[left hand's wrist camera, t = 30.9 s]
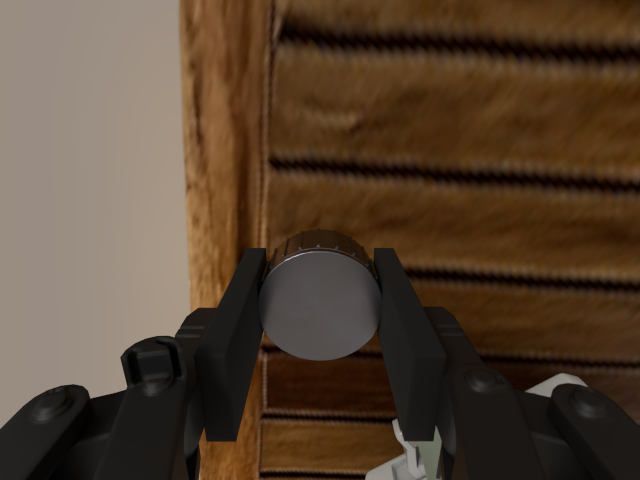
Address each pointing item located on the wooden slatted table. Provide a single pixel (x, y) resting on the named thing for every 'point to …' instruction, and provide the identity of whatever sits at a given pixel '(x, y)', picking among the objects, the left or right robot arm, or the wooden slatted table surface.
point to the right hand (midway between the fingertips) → (433, 406)
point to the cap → (320, 296)
